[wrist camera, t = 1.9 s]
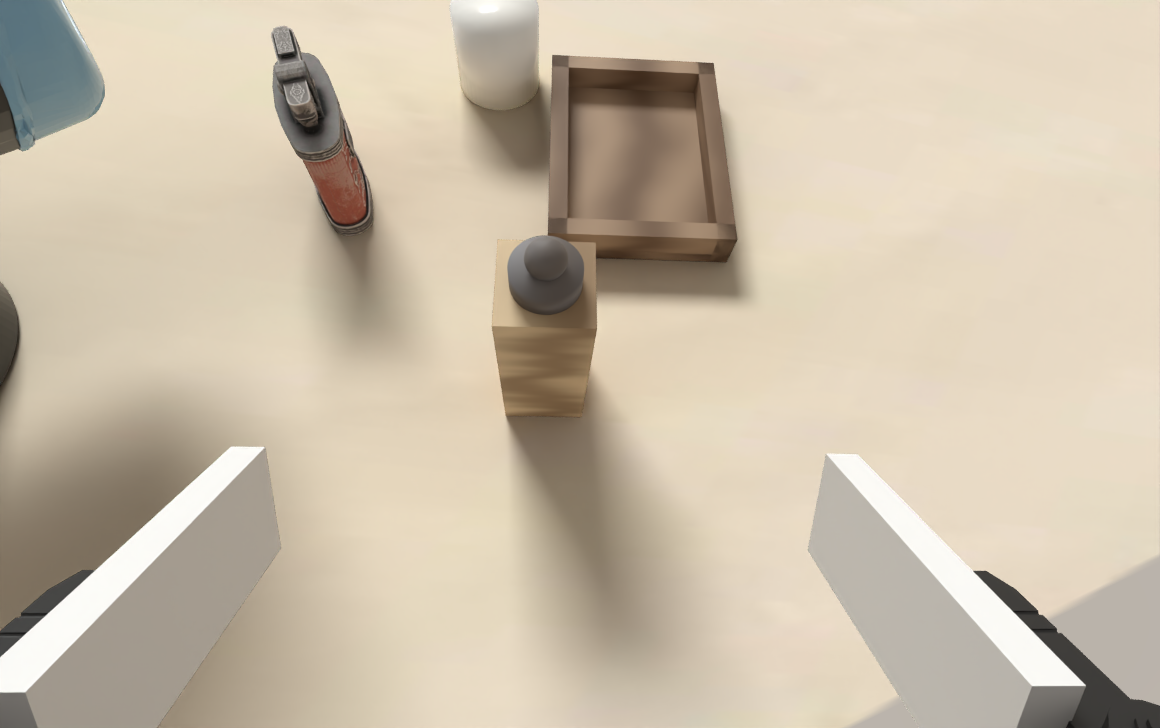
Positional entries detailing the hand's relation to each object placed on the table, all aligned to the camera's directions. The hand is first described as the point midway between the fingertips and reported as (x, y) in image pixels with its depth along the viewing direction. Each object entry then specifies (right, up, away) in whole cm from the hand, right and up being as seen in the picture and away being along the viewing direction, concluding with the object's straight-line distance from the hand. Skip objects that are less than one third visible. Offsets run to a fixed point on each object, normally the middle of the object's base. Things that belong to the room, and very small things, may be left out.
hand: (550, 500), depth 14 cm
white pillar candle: (-5, +25, +32) cm, 41 cm away
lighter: (-15, +15, +27) cm, 35 cm away
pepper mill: (-1, +2, +22) cm, 22 cm away
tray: (+5, +17, +29) cm, 34 cm away
